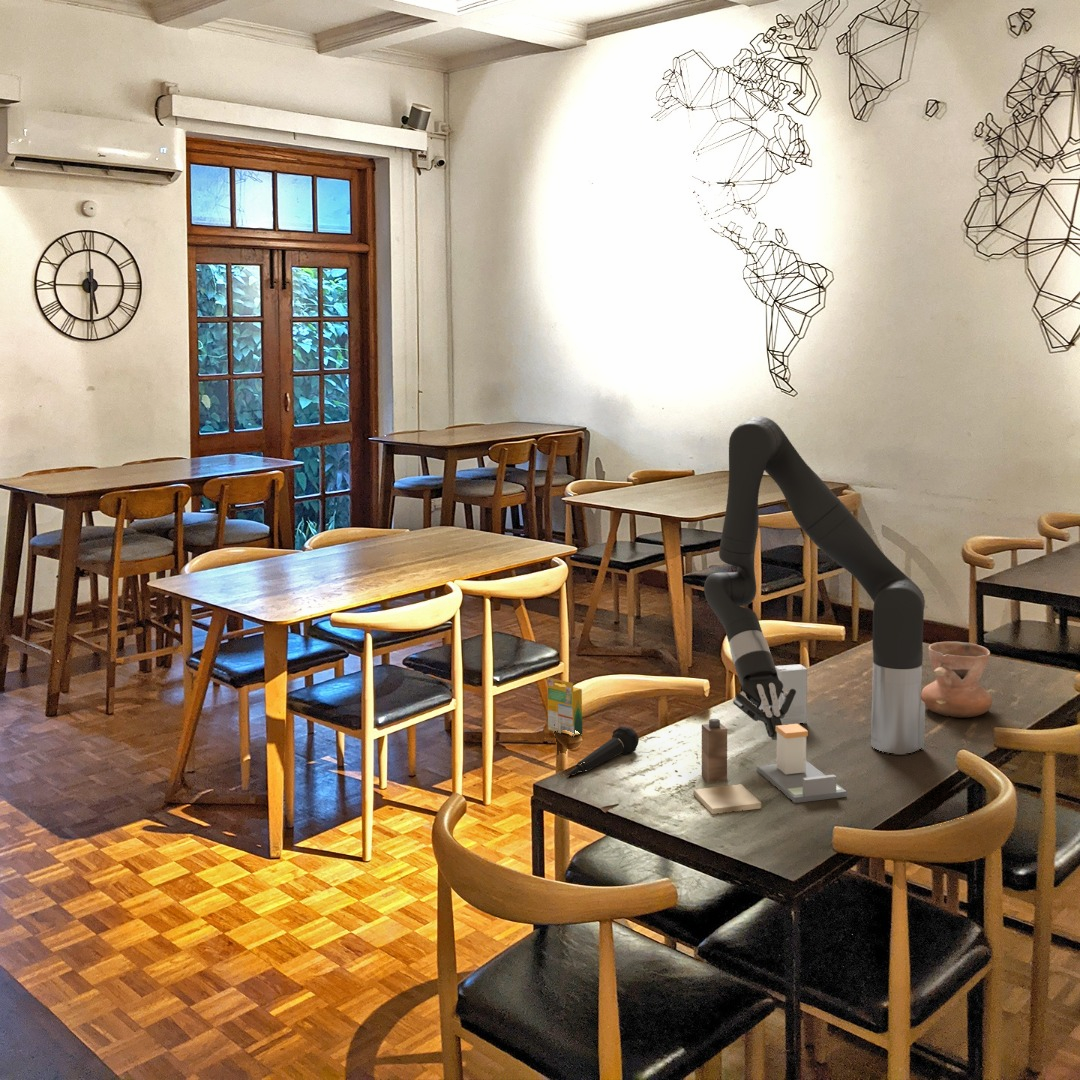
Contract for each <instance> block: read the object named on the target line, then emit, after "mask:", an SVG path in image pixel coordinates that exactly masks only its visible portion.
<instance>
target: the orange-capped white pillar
mask: <svg viewBox="0 0 1080 1080" xmlns="http://www.w3.org/2000/svg"><path fill="white" fill-rule="evenodd" d="M775 731H776V732H777V740H776V764H777V768H778V769H780V770H781V771H782V772H783V773H784V774H795V773H803V772H806V761H807V737H808V736H809V731H808V730H807V729H806V728H805V727H803V726H802V725H801V724H788V725H779V726H776V730H775Z"/></svg>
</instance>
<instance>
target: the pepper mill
mask: <svg viewBox="0 0 1080 1080" xmlns="http://www.w3.org/2000/svg"><path fill="white" fill-rule="evenodd" d="M701 777H702V778H703V779H704V780H705V781H706V782H707V783H717V782H724V781H725V782H727V781H728V728H727V727H726V726H725V725H723V724H722V723H721V719H719V718H710V719H709V720H708V723H704V724H701Z"/></svg>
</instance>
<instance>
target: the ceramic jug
mask: <svg viewBox="0 0 1080 1080" xmlns="http://www.w3.org/2000/svg"><path fill="white" fill-rule="evenodd" d="M990 655H991V651H990V650H989V649H988V648H987V647H985V646H982V645H979V644H977V643H972V642H963V641H962V642H961V641H940V642H938V641H937V642H934V643H931V644H929V646H928V656H929V657H928V658H929V659H930V664H931V669H932V670H933V673H934V675H935V677H936V679H935V680H934V681H932V682H931V683H929V684H927V685H926V686H924V687H923V689H921V701H923V702H925V708H927V709H928V710H929V711H931V712H932V713H935V714H938V715H941V716H944V715H945V717H949V716H951V718H962V717H963V718H973V717H977V716H981V715H983V714H985V713H987V712H988V711H990V709H991V708H992V705H993V698H992V696H991V695H990V693H989V692H988V691H987V690H985V689H984V688H983V687H982V686H981V685H979V684H978V682H979V680H980V679H981V678H982V676H983V673H984V671H985V669H986V667H987V665H988V662H989V659H990Z"/></svg>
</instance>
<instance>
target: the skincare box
mask: <svg viewBox="0 0 1080 1080" xmlns="http://www.w3.org/2000/svg"><path fill="white" fill-rule="evenodd" d="M775 668H776V671H777V675H778V678H779V680H780V681H781V682H782V684H783V687H785V688H787V689H789V690H791V689H795V690H796V694H795V696H794V698H793V701H792V703H791V705H790V707H789V710H788V712H787V713H786V714H785V716H784V718H782V719H781V718H780V720H781V723H782V725H785V724H799V725H801V724H800V723H803V724H807V723H808V669H807V668H806V667H805V666H804V665H802V664H800V663H799V664H786V665H785V664H784V665H775ZM783 702H784V700H783V698H782V693H781V694H780V696H779V699H778V703H779V704H778V707H779V710H780V709H781V707H782V704H783Z"/></svg>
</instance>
